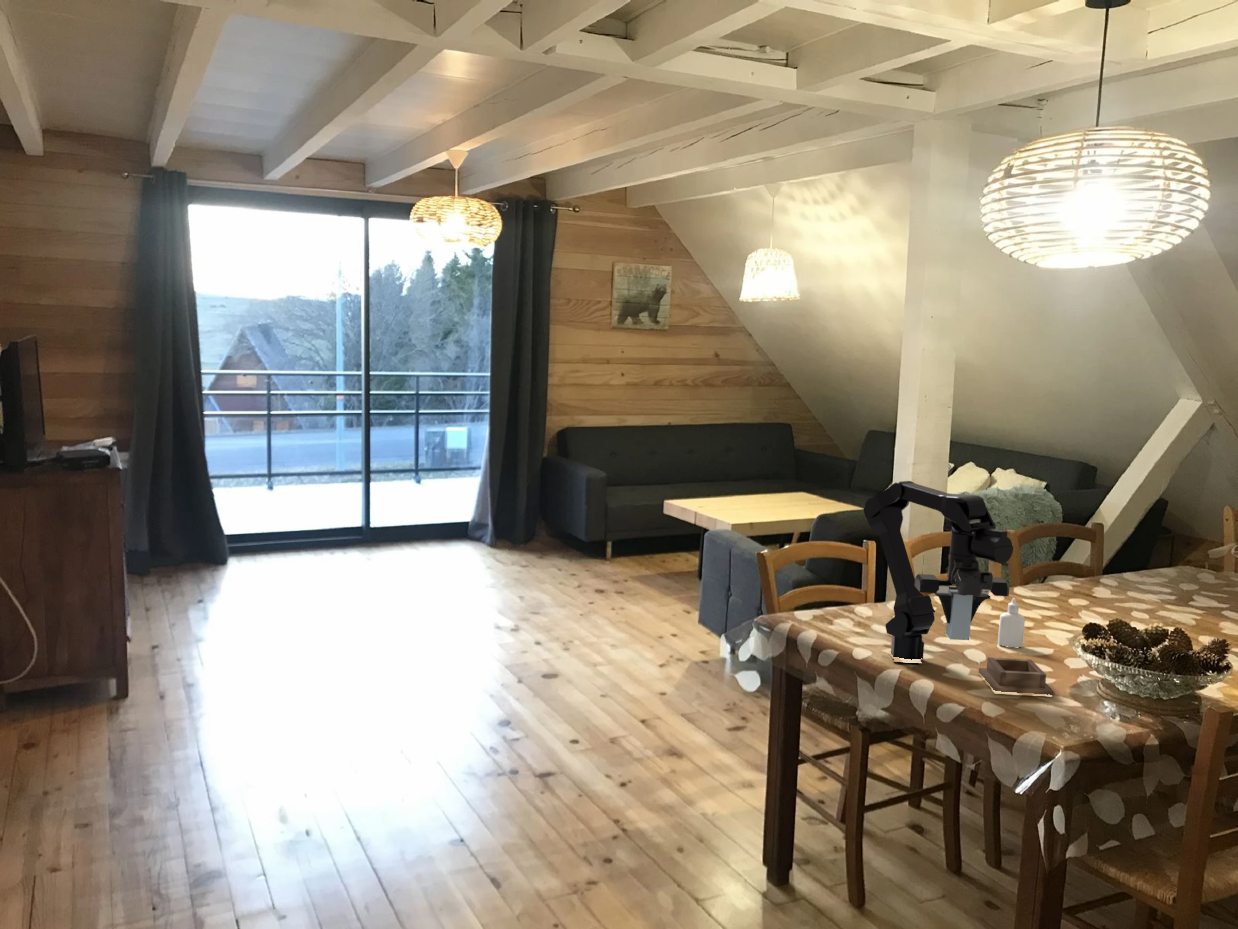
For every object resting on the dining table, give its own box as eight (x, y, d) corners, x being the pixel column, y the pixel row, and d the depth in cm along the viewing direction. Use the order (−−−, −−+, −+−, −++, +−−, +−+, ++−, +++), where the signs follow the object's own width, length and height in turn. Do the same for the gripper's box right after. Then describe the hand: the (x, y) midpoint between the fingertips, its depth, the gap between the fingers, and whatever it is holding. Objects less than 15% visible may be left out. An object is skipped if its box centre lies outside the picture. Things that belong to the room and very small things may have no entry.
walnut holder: (994, 694, 205) (996, 674, 205) (978, 674, 217) (979, 655, 216) (1052, 697, 204) (1054, 677, 204) (1033, 677, 216) (1035, 657, 216)
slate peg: (950, 639, 210) (953, 594, 208) (945, 633, 214) (949, 589, 212) (969, 640, 210) (972, 595, 208) (964, 634, 213) (967, 590, 212)
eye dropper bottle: (1002, 641, 241) (1006, 594, 239) (1025, 647, 237) (1029, 599, 235) (994, 645, 238) (998, 597, 236) (1017, 651, 234) (1021, 602, 232)
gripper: (928, 560, 202) (923, 632, 204) (1020, 564, 200) (1014, 637, 203) (916, 548, 213) (911, 617, 215) (1003, 552, 211) (998, 621, 214)
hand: (958, 623), depth 211 cm, fingers closed on slate peg, 4 cm apart
